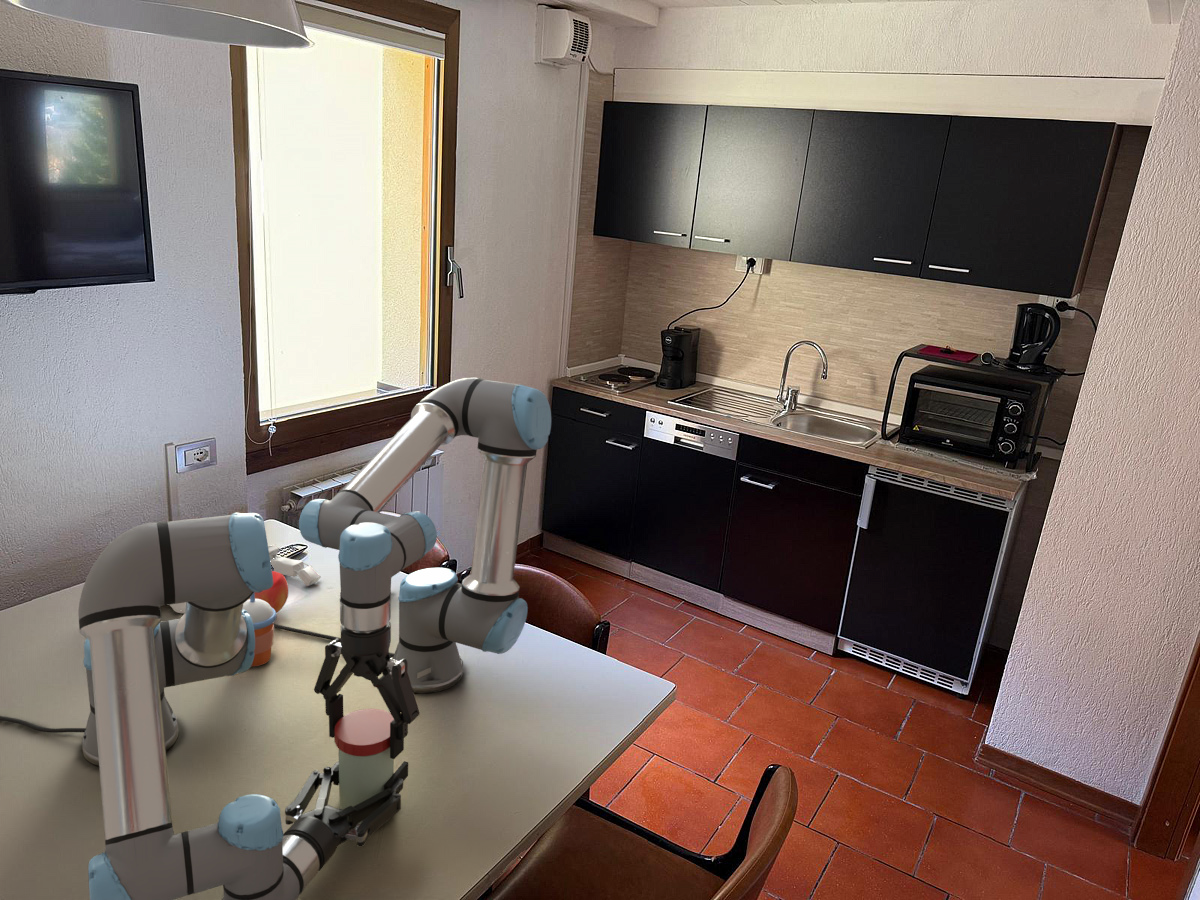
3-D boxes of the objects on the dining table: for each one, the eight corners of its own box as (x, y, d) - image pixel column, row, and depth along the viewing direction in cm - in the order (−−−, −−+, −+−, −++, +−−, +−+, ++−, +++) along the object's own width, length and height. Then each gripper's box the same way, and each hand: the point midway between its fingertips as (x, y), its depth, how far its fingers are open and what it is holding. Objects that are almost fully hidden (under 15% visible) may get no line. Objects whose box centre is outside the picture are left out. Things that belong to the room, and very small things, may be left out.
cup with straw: (262, 673, 177) (258, 595, 172) (223, 666, 179) (218, 588, 174) (286, 652, 186) (283, 577, 181) (248, 645, 187) (244, 570, 182)
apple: (273, 600, 207) (272, 562, 204) (297, 613, 202) (296, 575, 199) (237, 614, 200) (234, 575, 197) (261, 628, 194) (259, 588, 191)
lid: (332, 723, 141) (332, 712, 140) (394, 714, 144) (394, 704, 144) (336, 760, 132) (336, 749, 131) (401, 751, 135) (401, 740, 135)
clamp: (253, 565, 223) (254, 542, 221) (265, 560, 226) (266, 537, 224) (309, 593, 215) (310, 569, 213) (320, 588, 218) (321, 564, 216)
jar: (377, 835, 137) (377, 752, 133) (329, 822, 139) (327, 740, 135) (402, 800, 145) (403, 720, 141) (356, 788, 147) (355, 709, 143)
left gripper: (238, 855, 128) (326, 764, 148) (365, 896, 122) (438, 796, 143) (235, 813, 125) (325, 727, 146) (364, 854, 120) (439, 758, 141)
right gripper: (444, 630, 131) (441, 751, 138) (319, 594, 139) (322, 710, 146) (417, 653, 125) (415, 778, 131) (287, 614, 132) (291, 734, 139)
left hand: (381, 761), depth 145 cm, fingers closed on jar, 9 cm apart
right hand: (366, 743), depth 138 cm, fingers open, 11 cm apart
